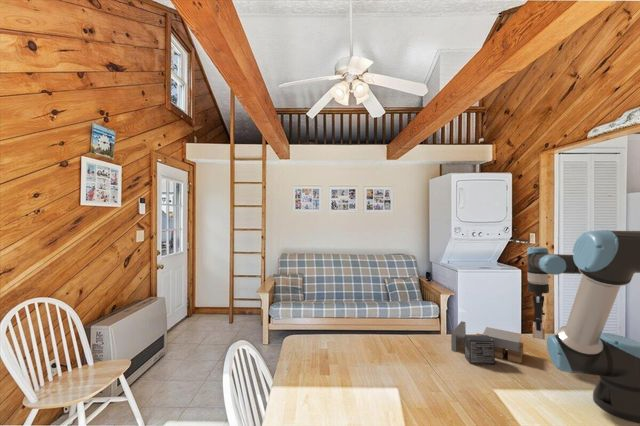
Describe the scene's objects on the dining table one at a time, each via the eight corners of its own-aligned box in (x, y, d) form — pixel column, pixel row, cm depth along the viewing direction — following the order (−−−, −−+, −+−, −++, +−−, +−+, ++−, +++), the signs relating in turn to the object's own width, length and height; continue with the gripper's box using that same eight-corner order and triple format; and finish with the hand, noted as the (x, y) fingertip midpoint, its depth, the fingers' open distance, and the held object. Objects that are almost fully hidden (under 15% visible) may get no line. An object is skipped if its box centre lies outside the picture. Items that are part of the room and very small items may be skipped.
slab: (518, 351, 132) (518, 342, 132) (482, 343, 140) (482, 334, 140) (520, 342, 141) (520, 333, 141) (486, 335, 150) (486, 326, 150)
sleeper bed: (521, 363, 131) (521, 351, 131) (472, 351, 143) (472, 340, 143) (523, 353, 140) (523, 343, 140) (477, 343, 152) (477, 333, 152)
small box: (488, 358, 137) (488, 334, 137) (495, 365, 130) (495, 340, 130) (464, 357, 138) (464, 333, 138) (469, 364, 131) (469, 339, 131)
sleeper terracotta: (544, 339, 126) (544, 328, 126) (532, 337, 128) (532, 326, 129) (545, 331, 135) (544, 321, 135) (534, 329, 137) (533, 319, 137)
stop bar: (455, 351, 143) (455, 334, 143) (451, 350, 145) (451, 333, 145) (465, 337, 159) (465, 322, 159) (461, 336, 160) (461, 321, 160)
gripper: (548, 288, 120) (549, 344, 120) (549, 279, 139) (550, 327, 139) (525, 286, 125) (526, 340, 125) (529, 277, 144) (530, 324, 143)
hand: (539, 333), depth 132 cm, fingers closed on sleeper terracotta, 11 cm apart
